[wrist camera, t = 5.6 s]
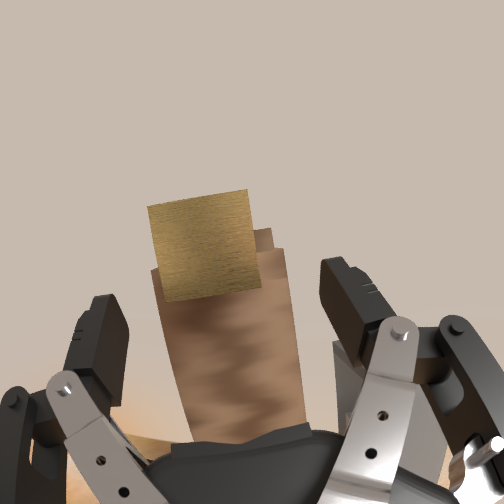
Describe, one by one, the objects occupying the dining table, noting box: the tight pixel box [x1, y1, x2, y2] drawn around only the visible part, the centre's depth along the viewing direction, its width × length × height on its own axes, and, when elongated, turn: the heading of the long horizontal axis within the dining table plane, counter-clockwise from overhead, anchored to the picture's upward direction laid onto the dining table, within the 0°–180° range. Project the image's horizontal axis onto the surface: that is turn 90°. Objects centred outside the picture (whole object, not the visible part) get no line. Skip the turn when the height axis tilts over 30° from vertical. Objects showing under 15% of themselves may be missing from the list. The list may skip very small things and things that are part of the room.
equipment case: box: [333, 340, 448, 484], centre depth 26 cm, size 9×11×21 cm
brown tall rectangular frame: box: [151, 228, 306, 444], centre depth 27 cm, size 9×12×34 cm
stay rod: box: [147, 189, 262, 303], centre depth 23 cm, size 4×22×4 cm, turn 4°
